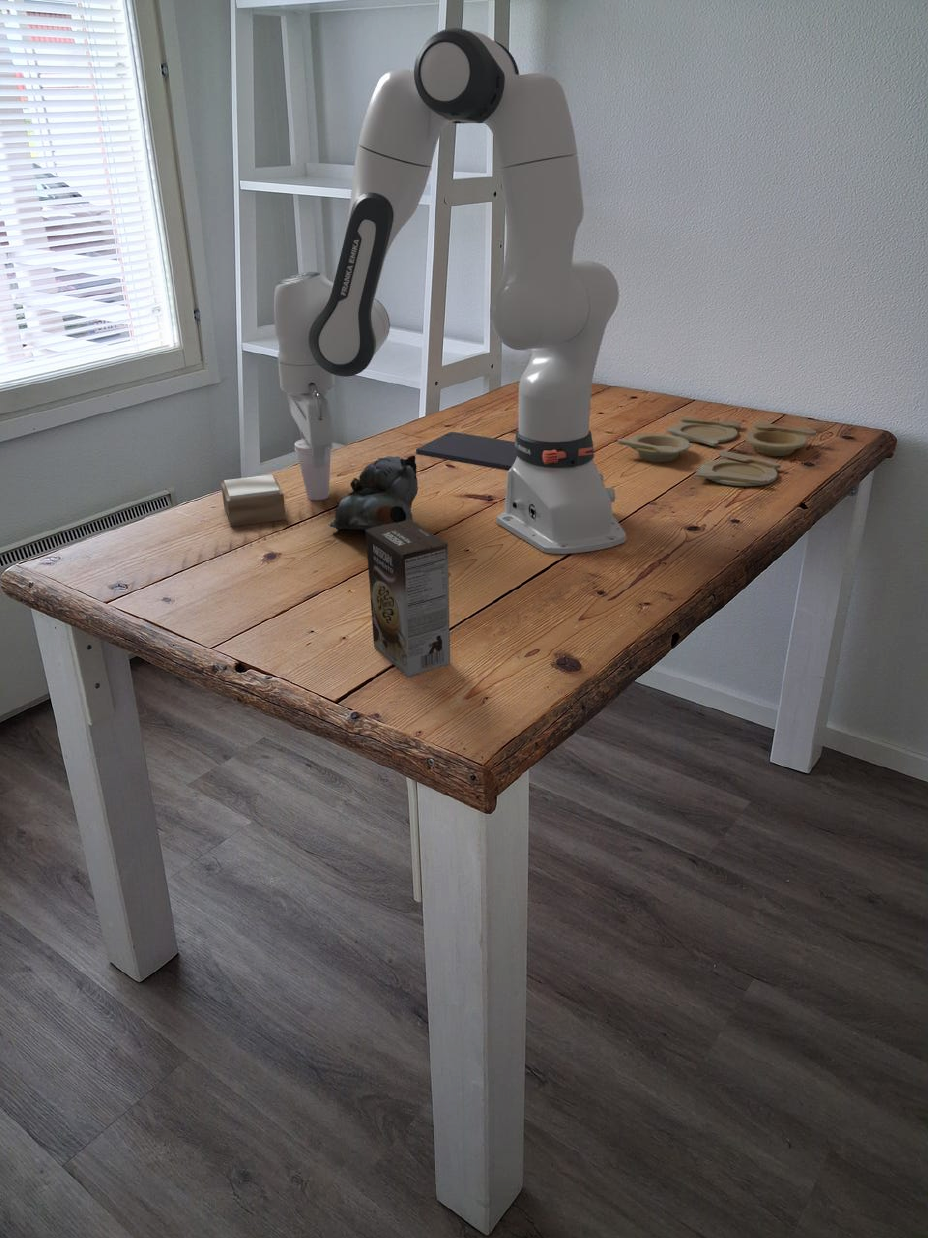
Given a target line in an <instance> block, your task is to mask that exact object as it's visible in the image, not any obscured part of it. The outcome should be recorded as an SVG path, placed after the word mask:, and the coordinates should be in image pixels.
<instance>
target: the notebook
mask: <svg viewBox="0 0 928 1238" xmlns="http://www.w3.org/2000/svg"><path fill="white" fill-rule="evenodd" d="M415 454H416V455H421V456H425V457H431V458H438V459H440V460H441V459H442V460H447V461H454V462H459V463H464V464H470V465H473V466H474V465H475V466H481V467H485V468H491V469H497V470H502V471H507V472H508V471H509V470H510V468H511V467H512V466H513V464H514V462H515V460H516V458H517V455H516V453H515V441H510V440H506V439H504V440H503V439H498V438H492V437H486V436H480V435H474V434H468V433H462V432H457V431H449V432H446V433H445V434H443V435H441V436H439V437H437V438H435V439H433V440H432V441H429V442H428V443H425V444H423V445H422V446H419V447H418V448H415Z"/></svg>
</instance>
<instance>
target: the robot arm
mask: <svg viewBox="0 0 928 1238" xmlns="http://www.w3.org/2000/svg"><path fill="white" fill-rule="evenodd" d="M413 66H414V67H413V70H410V69H405V68H402V69H401V68H399V69H394V70H390V71H388V72H386V73H384V74H383V75H382V76H381V77H380V79H378V82H377V84H376V85H375V88H374V90H373V93H372V96H371V98H370V101H369V104H368V107H367V110H366V112H365V116H364V119H363V122H362V126H361V129H360V133H359V139H358V144H357V147H356V154H355V160H354V166H353V167H354V168H353V173H352V183H351V191H350V200H349V207H348V216H347V224H346V232H345V235H344V240H343V244H342V249H341V252H340V256H339V260H338V264H337V268H336V272H335V276H334V280H333V281H332V280H329V279H328V278H326V276H325V275H324V274H322V273H321V272H317V271H308V272H301V273H296V274H293V275H290V276H288V277H287V276H286V277H285V278H283V279H282V280H280V281H279V282H278V283H277V285H276V286H275V288H274V289H275V290H274V296H273V317H274V318H273V319H274V330H275V335H276V336H275V337H276V338H277V341H278V353H277V365H278V374H279V385H280V389H281V390H282V391H283V392H286V397H287V401H288V402H287V403H288V406H289V411H290V415H291V417H292V418H293V420H294V422H295V423H296V425H297V426H298V430H299V434H300V437H301V439H304V438H306V440H307V441H308V443H309V445H310V446H311V448H312V463H313V465H314V467H315V468H321V467H324V465H325V463H324V455H325V447H330V446H333V429H332V428H333V427H332V419H331V418H332V417H331V409H330V405H329V401H328V399H327V398H328V394H329V393H328V391H330V390H332V389H333V388H334V387H335V376H338V377H345V378H346V377H352V376H353V377H354V376H357V375H358V374H360V373H362V372H364V371H365V369H367V368H368V366H369V365H370V364H371V361H372V360H373V358H374V356H375V355H376V353H377V352H378V351H379V350H380V348H382V346H383V344H384V343H385V341H386V340H387V338H388V336H389V333H390V329H391V328H390V325H391V324H390V317H389V315H388V312H387V310H386V308H385V306H384V305H383V304H382V303H381V301H379V300H377V299H376V294H377V290H378V286H379V283H380V279H381V276H382V275H381V274H382V271H383V267H384V264H385V260H386V257H387V255H388V252H389V249H390V247H391V245H392V244H393V242H394V240H395V239H396V238H397V236H398V234H399V233H400V232H401V230H402V229H403V228H404V226H405V225H406V223H407V222H408V221H409V220H410V219H411V217H412V216H413V215H414V213H415V212H416V210H417V208H418V206H419V203H420V201H421V199H422V197H423V194H424V192H425V190H426V189H425V188H426V186H427V183H428V181H429V177H430V173H431V168H432V165H433V160H434V157H435V152H436V146H437V144H438V140H439V138H440V135H441V133H442V132H443V130H444V129H445V128H446V127H447V126H448V125H449V124H451V123H453V124H485V125H486V126H487V127H488V128H489V130H490V131H491V133H492V135H493V139H494V141H495V147H496V150H497V156H498V157H497V158H498V167H499V173H500V182H501V188H502V196H503V205H504V213H505V223H506V242H505V243H506V244H505V253H504V254H505V255H504V263H503V269H502V275H501V280H500V282H499V284H498V288H497V290H496V292H495V293H494V295H493V297H492V300H491V302H490V307H489V319H490V323H491V328H492V330H493V332H494V334H495V335H496V337H497V338H498V340H499V341H500V342H501V343H502V344H503V345H504V346H506V347H508V348H510V349H512V350H515V351H526V352H528V351H529V352H530V351H532V353H531V356H530V359H529V361H528V364H527V367H526V368H525V370H524V372H523V373H522V374H521V376H520V378H519V379H520V380H519V383H518V429H517V430H516V431H515V439H514V442H515V453H516V455H517V458H516V460H515V462H514V464H513V466H512V467H511V468H510V470H509V471H507V473H506V485H505V487H506V488H505V497H504V498H505V500H504V510H503V512H500V514H498V515H497V517H496V523H497V525H499V526H501V527H502V528H503V529H505V530H507V531H509V532H510V533H512V534H514V535H516V537H518V538H520V539H522V540H523V541H525V542H527V543H528V544H530V545H531V546H533V547H535V548H536V549H537V550H540V551H541V552H543V553H545V554H557V555H559V554H563V555H565V554H566V555H567V554H577V553H578V554H579V553H580V554H581V553H586V552H587V553H588V552H593V551H599V550H604V549H609V548H613V547H615V546H619V545H621V544H623V543H624V542H626V541H627V534H626V532H625V530H624V529H623V528H622V526H621V525H620V523H619V521H618V520H617V519H616V518H615V516H614V515H613V513H612V512H613V510H612V503H614V502H615V499H616V492H615V489H614V488H613V487H606V486H605V483H604V474H603V473H599V470H598V468H597V466H596V464H595V461H594V458H595V452H594V451H595V450H594V449H595V447H594V440H593V438H592V435H593V434H592V431H591V430H590V416H591V415H590V414H591V399H592V398H591V397H592V387H593V386H592V385H593V379H594V374H595V369H596V365H597V361H598V357H599V354H600V349H601V345H602V342H603V339H604V335H605V331H606V328H607V327H608V326H607V325H608V323H609V321H610V319H611V317H612V315H613V314H614V312H615V311H616V309H617V306H618V304H619V303H618V302H619V297H620V296H619V295H620V294H619V293H620V292H619V284H618V282H617V279H616V277H615V275H614V274H613V272H612V271H611V270H610V269H609V268H608V267H607V266H605V265H603V264H601V263H599V262H596V261H591V260H584V259H573V257H574V247H575V240H576V236H577V232H578V230H579V227H580V226H581V223H582V221H583V218H584V213H585V212H584V211H585V209H584V201H583V200H584V199H583V191H582V183H581V182H582V181H581V175H580V165H579V157H578V150H577V142H576V136H575V129H574V125H573V120H572V116H571V112H570V109H569V105H568V102H567V98H566V95H565V92H564V90H563V87H562V85H561V83H560V82H559V81H558V80H557V79H556V78H554V77H552V76H550V75H547V74H545V73H537V72H536V73H534V72H533V73H531V72H530V73H526V74H520V71H519V66H518V65H517V62H516V60H515V58H514V56H513V54H512V53H511V52H510V51H509V50H508V49H507V48H506V47H505V46H504V45H503V44H501V43H499V42H498V41H496V40H492V39H491V38H490V37H488V36H487V35H486V34H483V33H481V32H478V31H472V30H467V29H463V28H459V27H451V28H446V29H442V30H440V31H437V32H435V33H434V34H433V35H431V36H430V37H428V39H426V40H425V41H424V43H423V44H422V45H421V47H420V48H419V50H418V52H417V55H416V58H415V62H414V65H413Z"/></svg>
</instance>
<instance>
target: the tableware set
mask: <svg viewBox="0 0 928 1238" xmlns="http://www.w3.org/2000/svg"><path fill="white" fill-rule="evenodd" d="M741 425H742V422H741V421H736V420H735V421H734V420H712V419H703V418H696V417H695V418H694V417H685V416H682V417H680V422H679V423H676V424H674V425H672V426H671V427H667V428H666V430H665V433H642V434H636V435H634V436H632V437H630V438H629V439H626V438H618V439H617V444H618V445H623V446H628V447H630V449H632V450H635V451H636V452H637V453H638V454H639V458H640V459H642V460H644V461H648V462H652V463H669V462H672V461H674V460H676V459H677V458H678V456H679V454H681V453H684V452H686V451H688V450H689V448H690V447H691V443H697V444H698V443H699V444H705V445H708V446H711V447H716V446H718V445H719V444H720V443H721V444H722V443H727V442H730V441H733V440H735V439H736V438H737V437H738V435H739V433H738V430H737V429H736V428H740V426H741ZM752 425H753V427H754V428H755V429H752V430H749V431H748V432H746V433H745V434H744V440H745V442H746V443H748V444H750V445H751V446H754V449H755V451H756V452H757V453H758V454H759V453H760V454H761V455H766V456H772V457H782V456H783V457H785V456H789V455H791V454H792V453H793V452H794V451H795V450H796V449H799V448H802V447H805V446H806V445H807V443H808V438H807V437H806V436H809V437H811V436H812V437H814V436H817V431H816V430H814V429H806V428H798V427H797V428H796V427H789V426H788V427H787V426H782V425H781V426H780V425H776V424H773V423H770V422H755V423H753V424H752ZM690 442H691V443H690ZM718 456H719V457H722V458H720V459H714V460H710V461H707V462H705V463H703V464H701V466H700V469H697V470H696V472H695V473H694V477H696V478H701V479H707V480H710V481H712V482H715V483H718V484H722V485H727V486H734V487H735V486H736V487H737V486H738V487H758V486H764V485H768V484H771V483H773V482H775V481H776V480H777V478H778V471H777V470H776V469H780V468H781V466H782V465H781V463H778V462H774V461H772V460H767V459H764V458H763V459H762V458H757V457H755V456H754V457H753V456H748V455H744V454H741V453H735V452H730V451H726V450H720V451H719V453H718Z"/></svg>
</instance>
